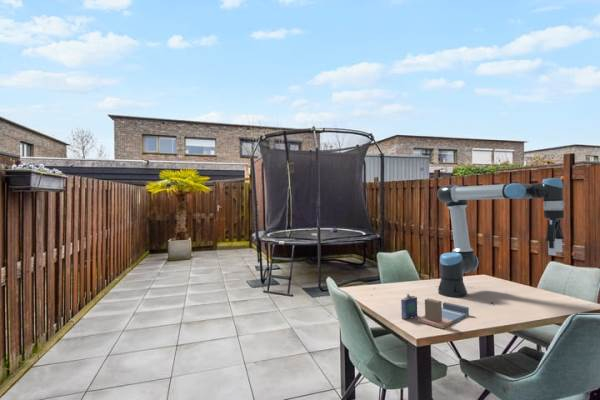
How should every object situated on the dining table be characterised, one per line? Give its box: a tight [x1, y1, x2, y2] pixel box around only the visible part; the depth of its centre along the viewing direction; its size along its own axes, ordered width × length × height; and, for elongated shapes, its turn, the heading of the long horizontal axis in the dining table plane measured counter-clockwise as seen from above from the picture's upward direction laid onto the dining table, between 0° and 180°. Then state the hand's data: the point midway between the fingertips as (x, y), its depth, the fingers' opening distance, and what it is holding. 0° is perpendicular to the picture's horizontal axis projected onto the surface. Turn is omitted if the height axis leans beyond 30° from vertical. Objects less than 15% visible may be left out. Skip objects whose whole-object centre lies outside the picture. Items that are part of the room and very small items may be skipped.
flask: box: [400, 293, 418, 320], centre depth 141 cm, size 9×3×11 cm, turn 117°
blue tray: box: [442, 301, 470, 324], centre depth 141 cm, size 11×16×4 cm
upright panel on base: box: [417, 297, 453, 329], centre depth 133 cm, size 11×9×10 cm
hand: (555, 253), depth 147 cm, fingers open, 13 cm apart
